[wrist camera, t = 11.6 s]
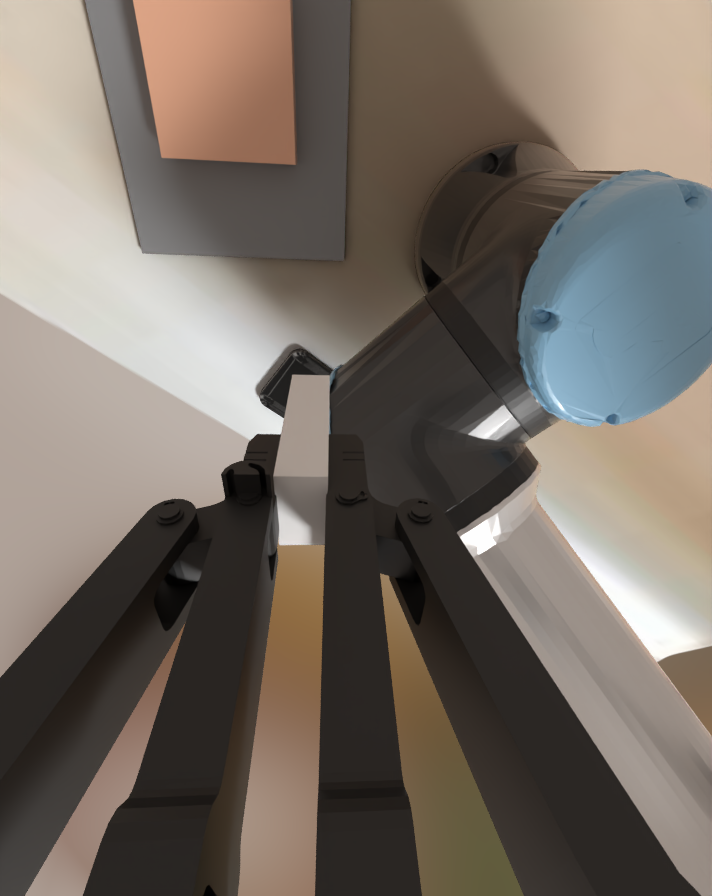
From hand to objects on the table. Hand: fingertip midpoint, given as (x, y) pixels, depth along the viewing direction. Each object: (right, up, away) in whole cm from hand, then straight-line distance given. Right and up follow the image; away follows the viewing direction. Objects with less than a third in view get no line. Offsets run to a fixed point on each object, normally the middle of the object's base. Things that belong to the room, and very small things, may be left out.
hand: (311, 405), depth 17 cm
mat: (-8, +23, +16) cm, 29 cm away
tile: (-8, +21, +15) cm, 27 cm away
